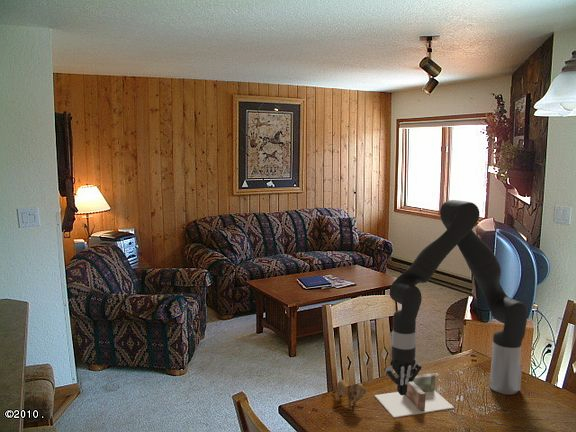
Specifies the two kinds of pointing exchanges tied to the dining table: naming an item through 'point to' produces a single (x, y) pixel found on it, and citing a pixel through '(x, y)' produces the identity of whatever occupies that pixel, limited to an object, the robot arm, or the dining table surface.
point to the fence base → (425, 382)
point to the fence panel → (416, 395)
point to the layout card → (412, 404)
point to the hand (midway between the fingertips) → (401, 394)
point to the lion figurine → (350, 392)
